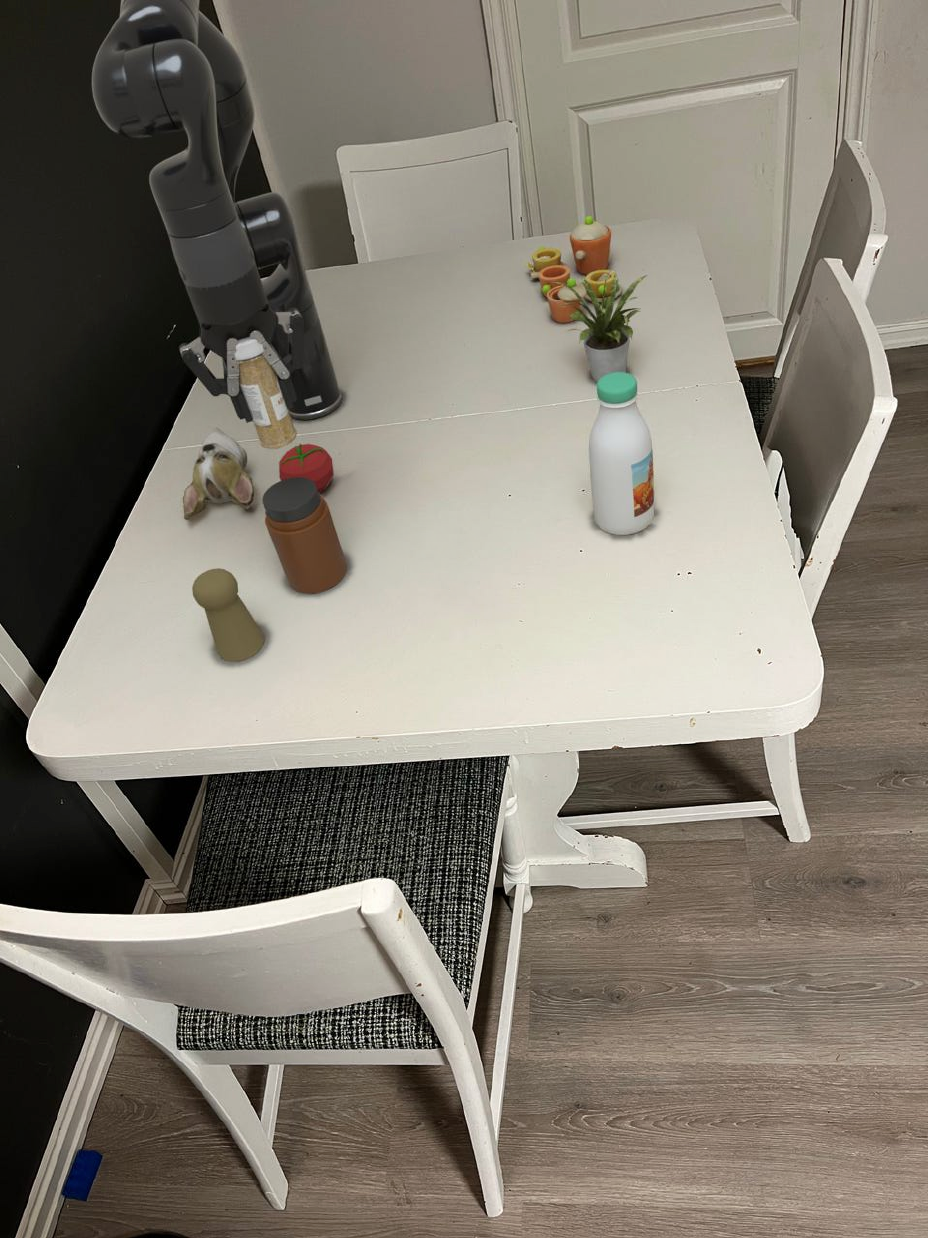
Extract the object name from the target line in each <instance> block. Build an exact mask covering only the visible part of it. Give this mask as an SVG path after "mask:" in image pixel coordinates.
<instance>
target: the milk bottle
mask: <svg viewBox="0 0 928 1238" xmlns="http://www.w3.org/2000/svg"><path fill="white" fill-rule="evenodd" d="M596 394H597V402H598V403H599V408H598V412H597V415H596V418H595V420H594V422H593V425H592V427H591V430H590V434H589V439H588V462H589V475H590V476H589V477H590V487H591V488H590V489H591V490H590V491H591V501H592V512H593V519H594V522H595V523H596V526H598V527H599V528H600V529H601V530H602V531H604V532H606V533H609V534H611V535H618V536H627V535H633V534H637V533H639V532H641V531H643V530H645V529H646V528H647V527H648V526H650V524H652V521H653V520H654V517H655V482H654V481H655V480H654V477H655V476H654V453H653V442H652V435H651V431H650V428H649V426H648V424H647V421H646V420H645V419H644V416H643V415H642V414H641V412H640V410H639V407H638V405H637V400H638V380H637V378H636V377H635V376H634V375H633V374H631V373H628V372H626V373H624V372H614V373H610V374H607V375H605V376H603V377H602V378H600V379H599V381H598V383H597V382H596Z"/></svg>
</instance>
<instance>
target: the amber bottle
mask: <svg viewBox="0 0 928 1238" xmlns="http://www.w3.org/2000/svg"><path fill="white" fill-rule="evenodd" d="M261 499H262V502H261V503H262V505H263V508H264V515H265V518H264V523H265V524H264V525H265V527H266V530H267V532H268V534H269V537H270V540H271V542H272V544H273V547H274V549H275V553H276V555H277V558H278V560H279V562H280V565H281V567H282V571H283V573H284V575H285V578H286V580H287V583H288V586H289V587H290V588H292V590H294V591H295V592H298V593H300V594H308V595H309V594H312V595H313V594H318V593H322V592H325V591H327V590H328V591H329V590H330V589H332V588H334V587H335V586H337V585H338V584H339V583H340V582H341V581H342V580H343V579H344V577H345V576H346V574H347V573H348V572H347V571H348V563H347V560H346V557H345V554H344V550H343V548H342V544H341V542H340V539H339V536H338V532H337V529H336V527H335V522H334V520H333V517H332V514H331V510H330V508H329V505H328V502H327V501H326V499H324V497H322V494H321V492H320V493H319V492H318V490H317V487H316V484H315V483H314V482H313V481H312V480H310V479H308V478H304V477H293V478H288V479H285V480H282V481H281V480H279V481H277V482H275V483H274V484H272V485H271V486H269V487H268V488H267V490H266V491H265V492H264V493H263V495H262V498H261Z"/></svg>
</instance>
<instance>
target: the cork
mask: <svg viewBox="0 0 928 1238" xmlns="http://www.w3.org/2000/svg"><path fill="white" fill-rule="evenodd" d="M238 584H239V583H238V581H237V579H236V578H235V576H234V575H233V573H232V572H230V571H228V570H226V569H225V568H221V567H219V568H211V569H208V570H206V571H204V572H202V573H200V574H199V575H198V576H197V577H196V578H195V579H194V581H193V584H192V588H191V589H192V590H191V591H192V596H193V598H194V600H195V602H196V604H198V606H199V607H201V608H202V609H204V612H205V616H206V619H207V623H208V625H209V629H210V633H211V636H212V640H213V642H214V646H215V651H216V653H217V655H218V657H219V658H220V659H221V660H223V661H226V662H230V663H234V662H236V663H237V662H242V661H246V660H247V659H250V658H251V657H253V656H255V655H256V654H257V653H258V652H259V651H260V650H261V649H262V647H263V646H264V643H265V639H266V638H265V634H264V632H263V630H262V629H261V628H260V626H259V624H258V623H257V621H256V620H255V618H254V617H253V616H252V614H251V613H250V611H249V609H248V608H247V606H246V604H245V603H244V602H243V600H242V599H241V597H240V596H239V594H238V593H239V586H238Z"/></svg>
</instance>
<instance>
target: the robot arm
mask: <svg viewBox="0 0 928 1238" xmlns="http://www.w3.org/2000/svg"><path fill="white" fill-rule="evenodd" d="M200 1H201V0H120V9H119V10H120V12H119V17H118V19H117V20H116V21H115V22H114V24H113V25H112V27H111V28H110V31H109V32H108V34H107V35H106V37H105V38H104V40H103V42H102V43H101V45H100V47H99V49H98V51H97V53H96V56H95V59H94V62H93V66H92V72H91V91H92V97H93V102H94V104H95V107H96V110H97V112H98V114H99V116H100V118H101V120H102V121H103V122H104V123H105V124H106V126H107V127H108V128H109V129H110V130H111V131H112V132H113V133H115V134H116V135H118V136H120V137H122V138H124V139H128V140H142V139H148V138H153V137H157V136H162V135H163V136H164V135H167V134H172V133H173V134H174V133H177V132H183V131H185V133H186V135H187V136H186V137H187V139H188V146H187V147H186V148H185V149H183V150H182V151H180V152H179V153H177V154H173V155H172V156H170V157H168V158H165V159H164V160H162V161H161V162H158V163H157V164H155V166H154V167H153V168H152V169H151V171H150V172H149V176H148V181H149V186H150V190H151V193H152V195H153V199H154V200H155V204H156V206H157V210H158V211H159V215H160V216H161V219H162V223H163V225H164V227H165V230H166V232H167V235H168V239H169V243H170V247H171V251H172V255H173V258H174V261H175V263H176V266H177V268H178V274H179V277H180V278H181V280H182V282H183V284H184V287H185V290H186V293H187V295H188V298H189V300H190V303H191V305H192V309H193V311H194V313H195V316H196V319H197V321H198V324H199V330H198V337H197V338H196V339H193V341H191V342H189V343H187V342H183V343H181V344H180V345H179V347H178V349H179V353H180V356H181V358H182V361H183V363H184V364H186V366H187V367H188V368H189V370H190V371H191V372H192V373H193V375H195V377H196V378H197V379H198V380H199V382H200V383H201V384H202V385H203V386H204V388H205V389H206V390H207V391H208V392H209V394H210V395H211V396H212V397H219V396H220V395H226V396H228V397H229V399H230V401H231V403H232V406H233V409H234V411H235V415H236V416H237V418H238V419H239V420H245V422H246V424H248V423H252V422H253V421H252V418H251V415H250V413H249V410H248V407H247V404H246V402H245V399H244V396H243V394H242V391H241V390H240V387H239V360H236V358H235V355H234V353H236V351H237V350H236V346H237V345H238V341H237V340H240V339H243V338H246V337H250V338H251V340H254V339H255V340H257V342H258V343H259V344H262V346H263V349H264V348H265V349H264V352H263V353H262V354H264V357H265V359H266V360H267V361H268V363H269V364H270V365H271V366H272V368H273V369H274V370H275V372H276V374H277V377H278V381H279V384H280V387H281V390H282V393H283V396H284V399H285V402H286V405H287V408H288V411H289V414H290V417H291V419H296V420H300V421H301V420H303V421H305V420H306V421H307V420H314V419H318V418H322V417H324V416H326V415H328V414H330V413H333V412H334V411H336V409H337V408H338V407H339V406H340V405H341V404H342V402H343V395H342V392H341V389H340V387H339V383H338V380H337V376H336V372H335V369H334V365H333V361H332V359H331V355H330V351H329V348H328V344H327V341H326V338H325V333H324V331H323V327H322V323H321V320H320V316H319V314H318V309H317V307H316V303H315V299H314V295H313V292H312V290H311V285H310V283H309V280H308V275H307V272H306V268H305V263H304V261H303V256H302V252H301V248H300V243H299V239H298V234H297V229H296V226H295V222H294V218H293V216H292V212H291V210H290V209H291V208H290V207H289V205H288V203H287V202H286V200H285V198H284V197H283V195H281V193H279V192H277V191H276V192H275V191H272V192H266V193H263V194H260V195H257V196H253V197H249V198H246V199H242V200H238V201H236V202H235V200H236V199H235V196H236V195H235V191H236V184H237V180H238V179H237V178H238V174H239V170H240V168H241V165H242V162H243V159H244V157H245V154H246V151H247V149H248V145H249V143H250V140H251V136H252V133H253V129H254V124H255V105H254V102H253V97H252V94H251V90H250V86H249V82H248V78H247V74H246V69H245V67H244V63H243V61H242V59H241V56H240V54H239V53H238V52H237V50H236V48H235V47H234V46H233V44H232V43H231V42H230V41H229V39H227V37H226V36H225V35H224V34H223V33H222V32H221V31H220V30H219V29H218V28H217V27H216V26H215V25H214V24H213V22H212V21H210V19H209V18H208V17H206V15H204V13H202V12H201V11H200ZM274 265H277V267H276V268H275V269H274V271H273V272H272V273H271V274H270V275H269V276H268V277H267V278H266V279H265V280H263V281H262V279H261V276H260V273H259V270H261V269H264V268H267V267H270V266H274ZM205 348H206V349H207V350H209V351H211V352H213V353H214V354H215V355H217V356H219V357H220V358H221V361H222V370H223V378H221V377H220V378H218V377H216V376H215V375H214V373H213V372H212V371H211V370H210V368H209V367H208V366H207V364H206V363H205V362H204V361H205V360H206V355H205V353H204V349H205ZM232 358H234V359H232Z"/></svg>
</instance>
